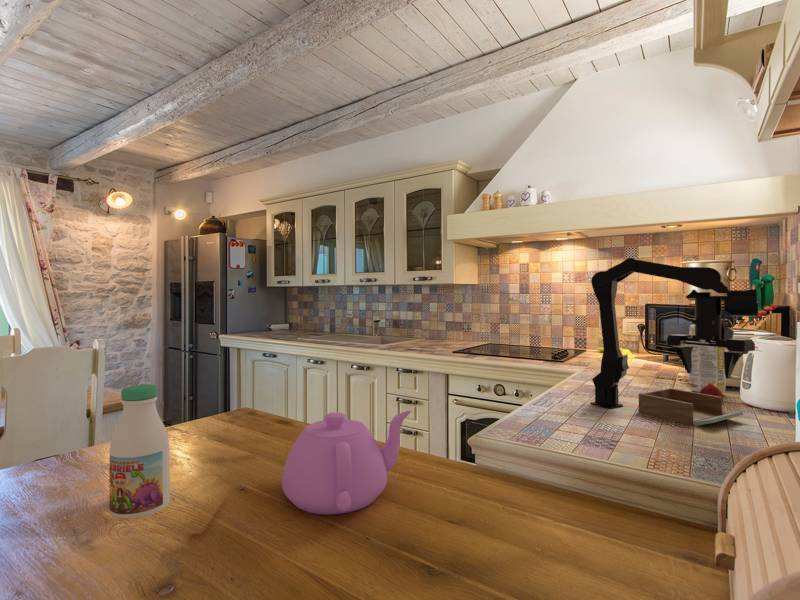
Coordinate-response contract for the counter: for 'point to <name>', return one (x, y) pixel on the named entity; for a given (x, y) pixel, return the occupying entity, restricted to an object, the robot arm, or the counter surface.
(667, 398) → the crate
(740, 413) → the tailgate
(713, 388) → the onion
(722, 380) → the juice carton
